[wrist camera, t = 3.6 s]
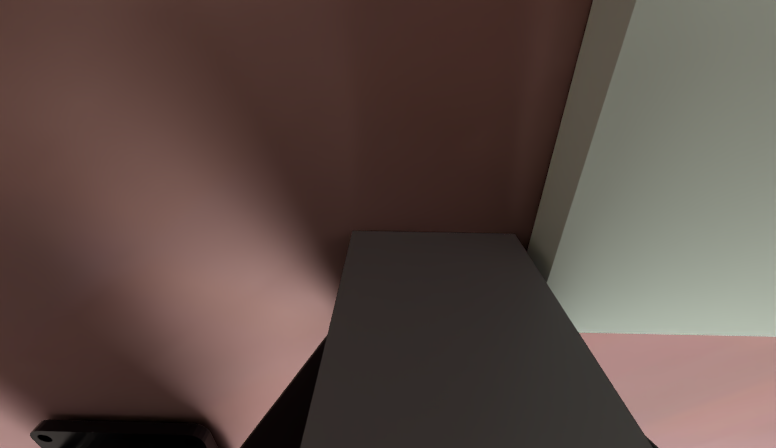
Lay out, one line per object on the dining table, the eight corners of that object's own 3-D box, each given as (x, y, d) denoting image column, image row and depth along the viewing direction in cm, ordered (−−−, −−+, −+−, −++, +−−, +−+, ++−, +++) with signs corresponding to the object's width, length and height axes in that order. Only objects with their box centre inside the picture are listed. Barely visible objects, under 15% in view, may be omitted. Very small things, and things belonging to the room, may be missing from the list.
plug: (360, 363, 10) (332, 598, 6) (352, 231, 8) (297, 461, 3) (483, 366, 10) (549, 606, 6) (514, 233, 8) (669, 472, 3)
